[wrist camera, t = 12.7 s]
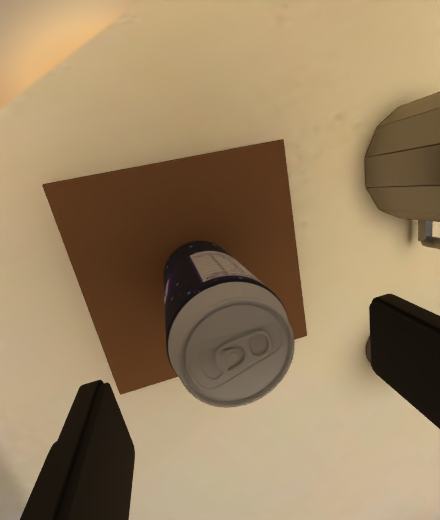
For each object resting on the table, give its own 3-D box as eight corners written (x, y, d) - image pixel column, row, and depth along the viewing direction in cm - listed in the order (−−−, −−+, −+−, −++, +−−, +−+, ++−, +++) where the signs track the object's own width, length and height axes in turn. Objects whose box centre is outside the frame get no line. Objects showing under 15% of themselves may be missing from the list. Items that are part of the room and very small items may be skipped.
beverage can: (152, 253, 21) (142, 324, 9) (219, 228, 22) (285, 267, 10) (178, 314, 22) (196, 437, 11) (239, 289, 23) (315, 381, 12)
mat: (47, 185, 19) (41, 184, 18) (278, 141, 22) (283, 139, 21) (121, 387, 24) (120, 395, 23) (302, 330, 27) (307, 335, 26)
